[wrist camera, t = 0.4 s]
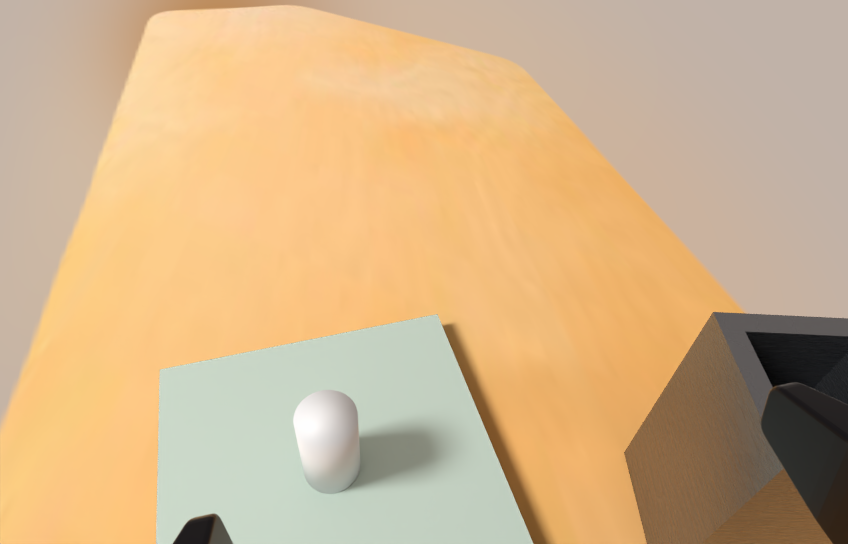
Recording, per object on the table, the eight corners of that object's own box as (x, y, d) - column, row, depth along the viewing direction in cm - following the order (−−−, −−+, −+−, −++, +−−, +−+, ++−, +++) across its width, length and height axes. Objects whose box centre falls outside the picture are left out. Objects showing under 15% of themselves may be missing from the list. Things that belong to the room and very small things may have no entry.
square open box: (795, 589, 23) (984, 476, 16) (657, 583, 22) (783, 467, 15) (742, 457, 27) (873, 319, 20) (624, 452, 26) (713, 312, 19)
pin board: (547, 597, 22) (579, 551, 18) (160, 731, 18) (108, 705, 15) (435, 326, 31) (443, 260, 28) (165, 381, 28) (134, 315, 24)
